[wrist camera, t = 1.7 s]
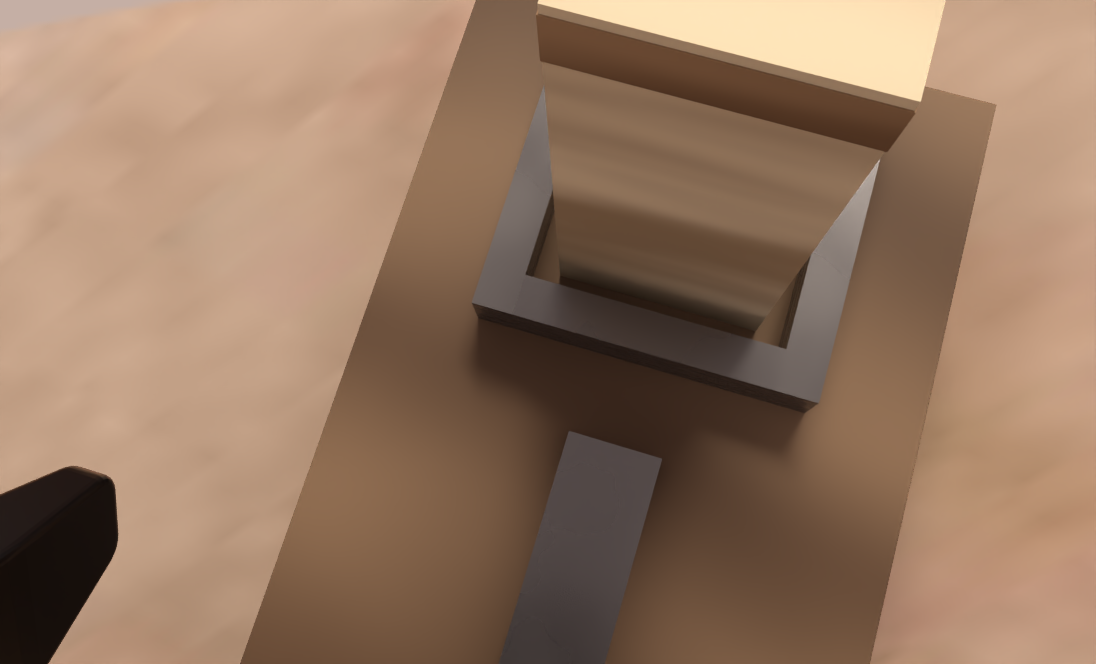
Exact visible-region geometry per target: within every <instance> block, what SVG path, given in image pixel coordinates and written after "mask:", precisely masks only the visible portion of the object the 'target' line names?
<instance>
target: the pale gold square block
mask: <svg viewBox="0 0 1096 664" xmlns="http://www.w3.org/2000/svg"><path fill="white" fill-rule="evenodd" d="M945 1H946V0H538V3H537V4H538V10H537V13H536V21H537V33H538V44H539V56H540V61H542V64H543V76H544V88H545V100H546V112H547V124H548V136H549V149H550V161H551V173H552V185H553V197H554V209H555V221H556V233H557V245H558V257H559V269H560V276H563V277H567V278H570V279H574V280H577V281H581V282H584V283H588V284H591V285H595V286H598V287H602V288H605V289H609V290H612V291H616V292H619V293H623V294H626V295H630V296H633V297H637V298H640V299H644V300H648V301H651V302H655V303H658V304H662V305H665V306H669V307H672V308H676V309H679V310H683V311H686V312H690V313H693V314H697V315H700V316H704V317H707V318H711V319H714V320H718V321H721V322H725V323H728V324H732V325H735V326H739V327H742V328H746V329H749V330H753V331H756V330H757V329H758V328H759V326H760V325H761V323H762V322H763V321H764V319H765V318H766V316H767V315H768V314H769V312H770V311H771V309H772V308H773V307H774V305H775V304H776V303H777V301H778V300H779V298H780V297H781V296H782V294H783V293H784V291H785V290H786V289H787V287H788V286H789V284H790V283H791V282H792V280H793V279H794V278H795V276H796V275H797V273H798V272H799V271H800V269H801V268H802V266H803V265H804V264H805V262H806V261H807V259H808V258H809V257H810V255H811V254H812V252H813V251H814V250H815V248H816V247H817V246H818V244H819V243H820V241H821V240H822V239H823V237H824V236H825V234H826V233H827V232H828V230H829V229H830V227H831V226H832V225H833V223H834V222H835V221H836V219H837V218H838V216H839V215H840V214H841V212H842V211H843V209H844V208H845V207H846V205H847V204H848V202H849V201H850V200H851V198H852V197H853V195H854V194H855V193H856V191H857V190H858V189H859V187H860V186H861V184H862V183H863V182H864V180H865V179H866V177H867V176H868V175H869V173H870V172H871V170H872V169H873V168H874V166H875V165H876V164H877V162H878V161H879V159H880V158H881V157H882V155H883V154H884V152H888V151H889V149H890V148H891V147H892V145H893V144H894V143H895V141H896V140H897V138H898V137H899V136H900V134H901V133H902V132H903V130H904V129H905V127H906V126H907V125H908V123H909V122H910V121H911V119H912V118H913V116H914V115H915V114H916V111H917V107H918V105H919V104H920V102H921V99H922V95H923V91H924V87H925V83H926V79H927V74H928V70H929V66H930V62H931V58H932V54H933V50H934V46H935V42H936V38H937V34H938V29H939V25H940V21H941V17H942V13H943V9H944V5H945Z"/></svg>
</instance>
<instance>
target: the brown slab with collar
mask: <svg viewBox="0 0 1096 664" xmlns="http://www.w3.org/2000/svg"><path fill="white" fill-rule="evenodd" d="M537 3H538V0H476V2H475V5H474V7H473V10H472V13H471V16H470V19H469V21H468V24H467V27H466V30H465V33H464V35H463V38H462V41H461V44H460V47H459V50H458V52H457V55H456V58H455V61H454V64H453V66H452V69H451V72H450V75H449V78H448V81H447V83H446V86H445V89H444V92H443V95H442V97H441V100H440V103H439V106H438V109H437V111H436V114H435V117H434V120H433V123H432V126H431V128H430V131H429V134H428V137H427V140H426V142H425V145H424V148H423V151H422V154H421V156H420V159H419V162H418V165H417V168H416V171H415V173H414V176H413V179H412V182H411V185H410V187H409V190H408V193H407V196H406V199H405V201H404V204H403V207H402V210H401V213H400V216H399V218H398V221H397V224H396V227H395V230H394V232H393V235H392V238H391V241H390V244H389V247H388V249H387V252H386V255H385V258H384V261H383V263H382V266H381V269H380V272H379V275H378V277H377V280H376V283H375V286H374V289H373V292H372V294H371V297H370V300H369V303H368V306H367V308H366V311H365V314H364V317H363V320H362V322H361V325H360V328H359V331H358V334H357V337H356V339H355V342H354V345H353V348H352V351H351V353H350V356H349V359H348V362H347V365H346V367H345V370H344V373H343V376H342V379H341V382H340V384H339V387H338V390H337V393H336V396H335V398H334V401H333V404H332V407H331V410H330V413H329V415H328V418H327V421H326V424H325V427H324V429H323V432H322V435H321V438H320V441H319V443H318V446H317V449H316V452H315V455H314V458H313V460H312V463H311V466H310V469H309V472H308V474H307V477H306V480H305V483H304V486H303V488H302V491H301V494H300V497H299V500H298V503H297V505H296V508H295V511H294V514H293V517H292V519H291V522H290V525H289V528H288V531H287V533H286V536H285V539H284V542H283V545H282V548H281V550H280V553H279V556H278V559H277V562H276V564H275V567H274V570H273V573H272V576H271V579H270V581H269V584H268V587H267V590H266V593H265V595H264V598H263V601H262V604H261V607H260V609H259V612H258V615H257V618H256V621H255V624H254V626H253V629H252V632H251V635H250V638H249V640H248V643H247V646H246V649H245V652H244V654H243V657H242V660H241V663H240V664H870V660H871V655H872V651H873V647H874V642H875V638H876V633H877V629H878V624H879V620H880V616H881V611H882V607H883V602H884V598H885V594H886V589H887V585H888V580H889V576H890V572H891V567H892V563H893V558H894V554H895V549H896V545H897V541H898V536H899V532H900V527H901V523H902V519H903V514H904V510H905V505H906V501H907V497H908V492H909V488H910V483H911V479H912V474H913V470H914V466H915V461H916V457H917V452H918V448H919V444H920V439H921V435H922V430H923V426H924V421H925V417H926V413H927V408H928V404H929V399H930V395H931V391H932V386H933V382H934V377H935V373H936V369H937V364H938V360H939V355H940V351H941V346H942V342H943V338H944V333H945V329H946V324H947V320H948V316H949V311H950V307H951V302H952V298H953V294H954V289H955V285H956V280H957V276H958V271H959V267H960V263H961V258H962V254H963V249H964V245H965V241H966V236H967V232H968V227H969V223H970V218H971V214H972V210H973V205H974V201H975V196H976V192H977V188H978V183H979V179H980V174H981V170H982V166H983V161H984V157H985V152H986V148H987V143H988V139H989V135H990V130H991V126H992V121H993V117H994V113H995V108H996V105H995V104H991V103H988V102H984V101H980V100H976V99H972V98H968V97H964V96H960V95H956V94H952V93H948V92H945V91H941V90H937V89H933V88H929V87H924V91H923V95H922V99H921V102H920V104H919V105H918V107H917V111H916V114H915V115H914V116H913V118H912V119H911V121H910V122H909V123H908V125H907V126H906V127H905V129H904V130H903V132H902V133H901V134H900V136H899V137H898V138H897V140H896V141H895V143H894V144H893V145H892V147H891V148H890V149H889V151H888V152H884V154H883V155H882V157H881V158H880V159H879V161H878V162H877V164H876V165H875V166H874V168H873V169H872V170H871V172H870V173H869V175H868V176H867V177H866V179H865V180H864V182H863V183H862V184H861V186H860V187H859V189H858V190H857V191H856V193H855V194H854V195H853V197H852V198H851V200H850V201H849V202H848V204H847V205H846V207H845V208H844V209H843V211H842V212H841V214H840V215H839V216H838V218H837V219H836V221H835V222H834V223H833V225H832V226H831V227H830V229H829V230H828V232H827V233H826V234H825V236H824V237H823V239H822V240H821V241H820V243H819V244H818V246H817V247H816V248H815V250H814V251H813V252H812V254H811V255H810V257H809V258H808V259H807V261H806V262H805V264H804V265H803V266H802V268H801V269H800V271H799V272H798V273H797V275H796V276H795V278H794V279H793V280H792V282H791V283H790V284H789V286H788V287H787V289H786V290H785V291H784V293H783V294H782V296H781V297H780V298H779V300H778V301H777V303H776V304H775V305H774V307H773V308H772V309H771V311H770V312H769V314H768V315H767V316H766V318H765V319H764V321H763V322H762V323H761V325H760V326H759V328H758V329H757V330H756V331H753V330H749V329H746V328H742V327H739V326H735V325H732V324H728V323H725V322H721V321H718V320H714V319H711V318H707V317H704V316H700V315H697V314H693V313H690V312H686V311H683V310H679V309H676V308H672V307H669V306H665V305H662V304H658V303H655V302H651V301H648V300H644V299H640V298H637V297H633V296H630V295H626V294H623V293H619V292H616V291H612V290H609V289H605V288H602V287H598V286H595V285H591V284H588V283H584V282H581V281H577V280H574V279H570V278H567V277H563V276H560V269H559V257H558V245H557V233H556V221H555V209H554V197H553V185H552V173H551V161H550V149H549V136H548V124H547V112H546V100H545V88H544V76H543V64H542V61H540V56H539V44H538V33H537V21H536V13H537V10H538V4H537Z"/></svg>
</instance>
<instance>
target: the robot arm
mask: <svg viewBox="0 0 1096 664" xmlns="http://www.w3.org/2000/svg"><path fill="white" fill-rule="evenodd" d="M117 542H118V522H117V507H116V492H115V485H114V483H113V481H112V479H111V478H110V477H108V476H107V475H104V474H101V473H98V472H95V471H92V470H88V469H85V468H82V467H78V466H69V467H65V468H62V469H59V470H57V471H55V472H52V473H50V474H47V475H45V476H43V477H40V478H38V479H36V480H33V481H31V482H28V483H26V484H24V485H21V486H19V487H17V488H14V489H12V490H10V491H7V492H5V493H2V494H0V664H48V663H49V662H50V660H51V658H52V657H53V655H54V653H55V652H56V650H57V648H58V647H59V645H60V644H61V642H62V640H63V639H64V637H65V635H66V634H67V632H68V630H69V629H70V627H71V625H72V624H73V622H74V621H75V619H76V617H77V616H78V614H79V612H80V611H81V609H82V607H83V606H84V604H85V602H86V601H87V599H88V598H89V596H90V594H91V593H92V591H93V589H94V588H95V586H96V584H97V583H98V581H99V579H100V578H101V576H102V575H103V573H104V571H105V570H106V568H107V566H108V565H109V563H110V561H111V559H112V557H113V555H114V553H115V550H116V547H117Z"/></svg>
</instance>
